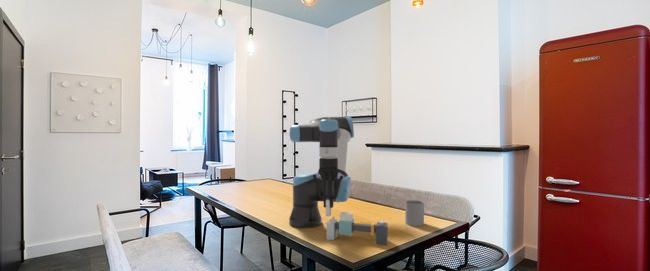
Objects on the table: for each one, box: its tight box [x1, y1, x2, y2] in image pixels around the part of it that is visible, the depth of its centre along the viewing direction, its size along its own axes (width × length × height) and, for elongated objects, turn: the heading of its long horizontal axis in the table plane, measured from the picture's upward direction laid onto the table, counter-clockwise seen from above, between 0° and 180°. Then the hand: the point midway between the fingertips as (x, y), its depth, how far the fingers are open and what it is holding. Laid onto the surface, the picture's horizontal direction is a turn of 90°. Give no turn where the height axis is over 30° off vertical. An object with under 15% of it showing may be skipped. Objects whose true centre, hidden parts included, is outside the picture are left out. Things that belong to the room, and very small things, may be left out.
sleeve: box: [338, 211, 355, 236], centre depth 128 cm, size 5×5×8 cm
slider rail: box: [326, 216, 389, 246], centre depth 127 cm, size 24×6×8 cm, turn 74°
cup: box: [404, 199, 425, 227], centre depth 149 cm, size 8×8×10 cm
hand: (328, 215), depth 130 cm, fingers closed
